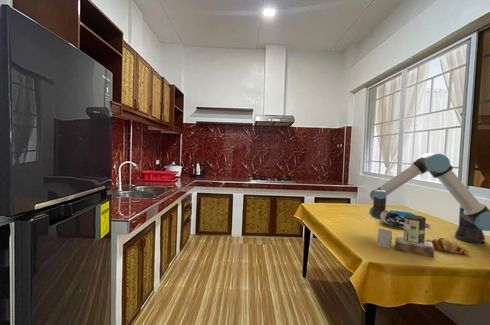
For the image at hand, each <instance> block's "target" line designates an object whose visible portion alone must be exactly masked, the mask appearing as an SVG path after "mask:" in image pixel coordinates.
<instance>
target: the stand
mask: <svg viewBox="0 0 490 325" xmlns="http://www.w3.org/2000/svg"><path fill="white" fill-rule="evenodd" d="M403 239H404V236H403V237H402V236H396V237H395V239H394V240H395V243H394V244H395V245H394V250H395V251H397V252H403V253H408V254H414V255H419V256H425V257H430V258H434V257H435V249H434V247H433V244H432V242H429V241H427V240H426V241H424V242H425V243H424V244H412V243H408V242H406V241H404V240H403Z"/></svg>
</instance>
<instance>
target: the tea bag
mask: <svg viewBox="0 0 490 325" xmlns="http://www.w3.org/2000/svg"><path fill="white" fill-rule="evenodd" d="M392 234H393V231H392V230H389V229H384V228H378V232H377V241H376V242H377V245H378V246H377V247H380V246H383V247H382V248H385V247H387V248H386V249H389V248H390V249H391V248H392V244H393V242H392V241H393V240H392V239H393V237H392V236H393V235H392Z"/></svg>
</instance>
